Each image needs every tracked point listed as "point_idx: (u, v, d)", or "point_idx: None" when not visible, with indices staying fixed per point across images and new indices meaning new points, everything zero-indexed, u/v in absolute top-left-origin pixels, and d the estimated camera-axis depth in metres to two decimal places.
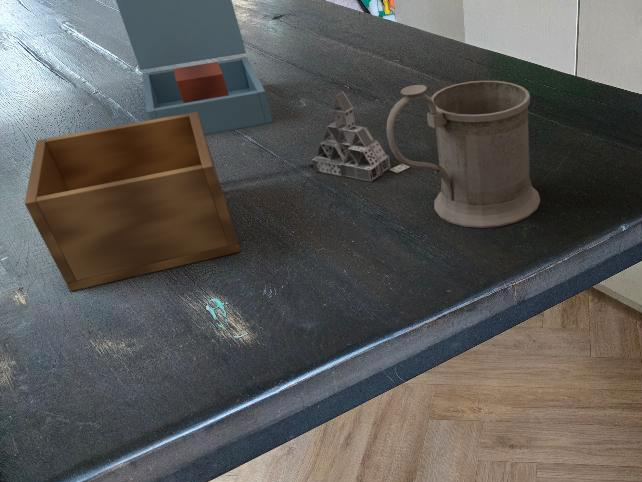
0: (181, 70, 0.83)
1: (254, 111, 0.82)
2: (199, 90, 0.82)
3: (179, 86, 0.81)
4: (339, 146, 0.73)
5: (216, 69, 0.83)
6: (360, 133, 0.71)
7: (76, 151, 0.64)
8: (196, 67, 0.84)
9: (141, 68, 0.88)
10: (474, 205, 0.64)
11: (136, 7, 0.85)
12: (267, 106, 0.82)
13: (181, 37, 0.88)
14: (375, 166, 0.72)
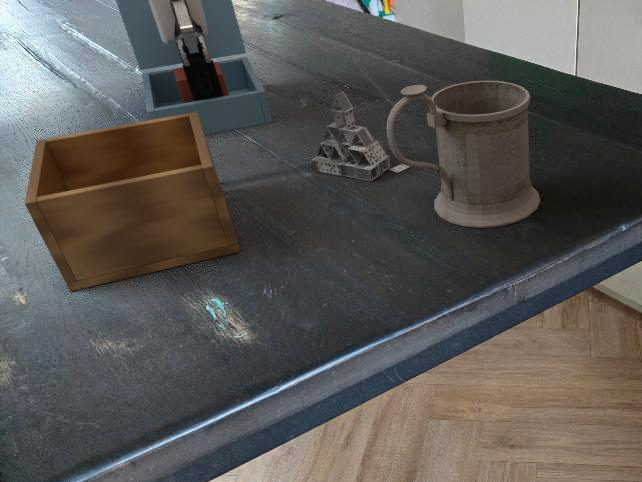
0: (181, 70, 0.83)
1: (254, 111, 0.82)
2: None
3: (179, 86, 0.81)
4: (339, 146, 0.73)
5: (216, 69, 0.83)
6: (360, 133, 0.71)
7: (76, 151, 0.64)
8: None
9: (141, 68, 0.88)
10: (474, 205, 0.64)
11: (136, 7, 0.85)
12: (267, 106, 0.82)
13: None
14: (375, 166, 0.72)
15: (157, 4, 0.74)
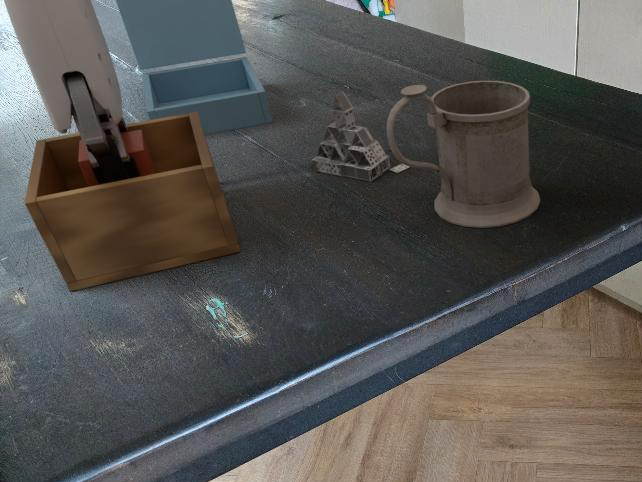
0: None
1: (254, 111, 0.82)
2: None
3: (83, 168, 0.59)
4: (339, 146, 0.73)
5: (137, 142, 0.61)
6: (360, 133, 0.71)
7: (76, 151, 0.64)
8: None
9: (141, 68, 0.88)
10: (474, 205, 0.64)
11: (136, 7, 0.85)
12: (267, 106, 0.82)
13: (181, 37, 0.88)
14: (375, 166, 0.72)
15: (43, 82, 0.52)
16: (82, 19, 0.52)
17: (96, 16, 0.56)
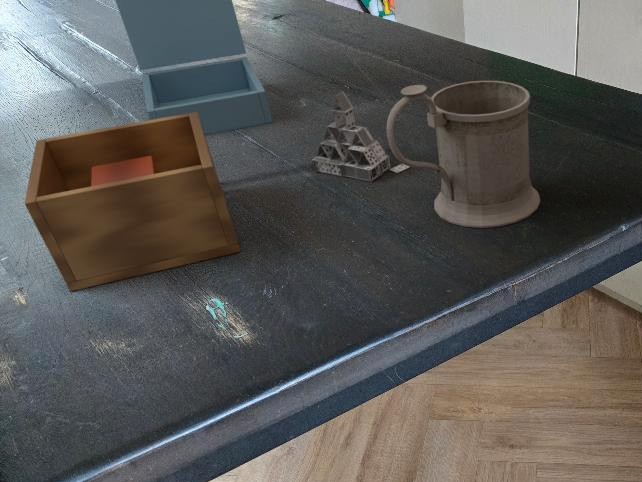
0: (101, 170, 0.63)
1: (254, 111, 0.82)
2: None
3: None
4: (339, 146, 0.73)
5: (147, 169, 0.63)
6: (360, 133, 0.71)
7: (76, 151, 0.64)
8: (122, 165, 0.63)
9: (141, 68, 0.88)
10: (474, 205, 0.64)
11: (136, 8, 0.84)
12: (267, 106, 0.82)
13: (181, 38, 0.88)
14: (375, 166, 0.72)
15: None
16: None
17: None
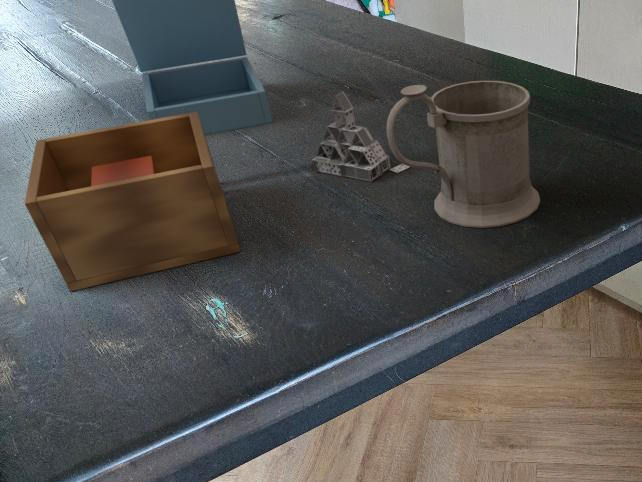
0: (101, 170, 0.63)
1: (254, 111, 0.82)
2: None
3: None
4: (339, 146, 0.73)
5: (147, 169, 0.63)
6: (360, 133, 0.71)
7: (76, 151, 0.64)
8: (122, 165, 0.63)
9: (142, 71, 0.88)
10: (474, 205, 0.64)
11: (141, 25, 0.82)
12: (267, 106, 0.82)
13: (184, 46, 0.87)
14: (375, 166, 0.72)
15: None
16: None
17: None
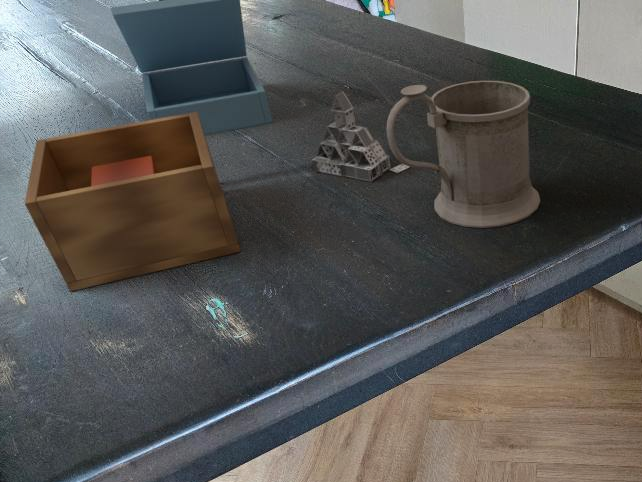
0: (101, 170, 0.63)
1: (254, 111, 0.82)
2: None
3: None
4: (339, 146, 0.73)
5: (147, 169, 0.63)
6: (360, 133, 0.71)
7: (76, 151, 0.64)
8: (122, 165, 0.63)
9: (142, 72, 0.88)
10: (474, 205, 0.64)
11: (148, 48, 0.82)
12: (267, 106, 0.82)
13: (187, 56, 0.87)
14: (375, 166, 0.72)
15: None
16: None
17: None
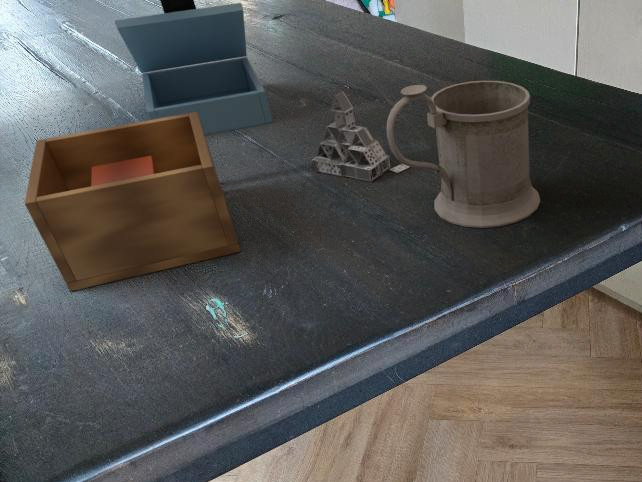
0: (101, 170, 0.63)
1: (254, 111, 0.82)
2: None
3: None
4: (339, 146, 0.73)
5: (147, 169, 0.63)
6: (360, 133, 0.71)
7: (76, 151, 0.64)
8: (122, 165, 0.63)
9: (142, 72, 0.88)
10: (474, 205, 0.64)
11: (149, 53, 0.82)
12: (267, 106, 0.82)
13: (188, 58, 0.87)
14: (375, 166, 0.72)
15: None
16: None
17: None
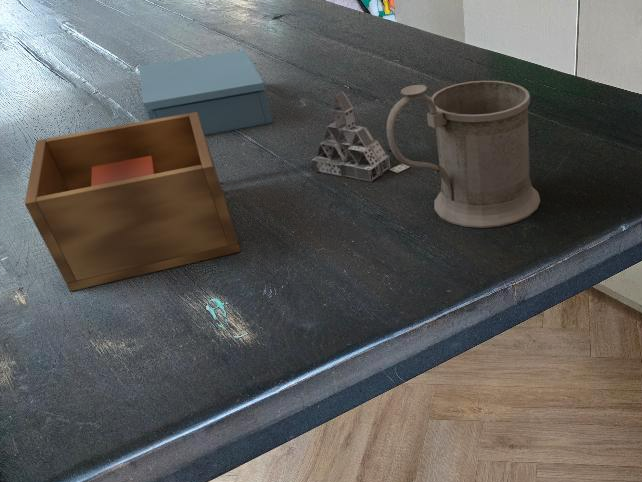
0: (101, 170, 0.63)
1: (254, 111, 0.82)
2: None
3: None
4: (339, 146, 0.73)
5: (147, 169, 0.63)
6: (360, 133, 0.71)
7: (76, 151, 0.64)
8: (122, 165, 0.63)
9: None
10: (474, 205, 0.64)
11: None
12: (267, 106, 0.82)
13: None
14: (375, 166, 0.72)
15: None
16: None
17: None
